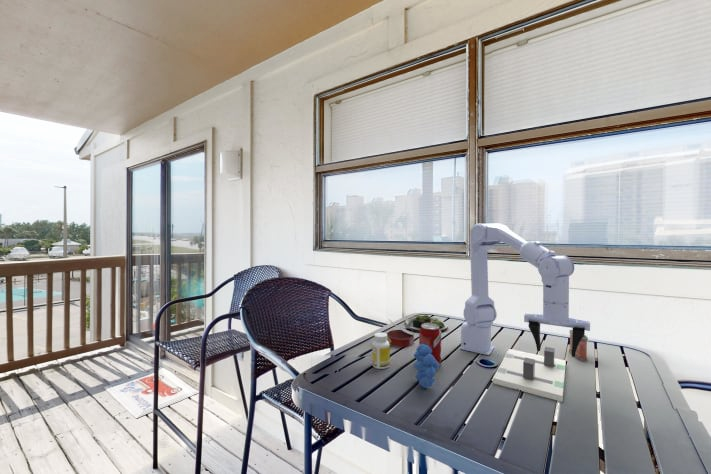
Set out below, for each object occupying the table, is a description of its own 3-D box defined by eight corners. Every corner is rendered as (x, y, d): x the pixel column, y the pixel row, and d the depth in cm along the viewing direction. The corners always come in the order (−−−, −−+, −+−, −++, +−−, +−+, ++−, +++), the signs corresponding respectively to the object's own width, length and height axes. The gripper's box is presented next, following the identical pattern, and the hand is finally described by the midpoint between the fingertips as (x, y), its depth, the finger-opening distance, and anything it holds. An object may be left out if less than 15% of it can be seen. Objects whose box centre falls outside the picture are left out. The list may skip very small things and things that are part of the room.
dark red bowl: (391, 349, 122) (392, 323, 127) (417, 351, 118) (417, 323, 122) (381, 345, 113) (382, 317, 118) (408, 346, 109) (409, 317, 113)
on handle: (544, 365, 94) (544, 350, 94) (545, 360, 97) (545, 346, 97) (553, 367, 93) (553, 352, 93) (554, 362, 96) (554, 348, 95)
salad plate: (399, 319, 146) (399, 309, 146) (437, 318, 146) (438, 309, 146) (407, 334, 127) (407, 323, 126) (451, 333, 127) (451, 322, 127)
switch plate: (493, 383, 87) (493, 377, 87) (508, 353, 107) (508, 348, 107) (562, 401, 78) (562, 395, 78) (565, 365, 98) (565, 360, 97)
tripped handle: (523, 377, 87) (523, 362, 86) (524, 372, 90) (525, 357, 89) (533, 380, 85) (533, 364, 85) (534, 374, 88) (534, 359, 88)
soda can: (428, 370, 95) (428, 330, 95) (414, 361, 101) (414, 324, 101) (445, 365, 98) (446, 327, 98) (431, 357, 104) (431, 321, 104)
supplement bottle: (392, 363, 100) (391, 332, 99) (386, 370, 95) (386, 338, 94) (375, 360, 102) (375, 330, 102) (369, 367, 97) (369, 336, 97)
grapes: (448, 397, 80) (449, 351, 80) (423, 400, 79) (423, 353, 79) (431, 375, 92) (431, 335, 91) (409, 377, 91) (409, 336, 90)
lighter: (590, 362, 100) (590, 330, 99) (578, 361, 100) (578, 330, 100) (577, 351, 108) (578, 322, 107) (566, 351, 108) (567, 322, 108)
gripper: (522, 301, 84) (522, 351, 84) (590, 308, 76) (590, 364, 76) (525, 296, 90) (525, 343, 90) (589, 302, 82) (589, 354, 82)
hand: (555, 352), depth 84 cm, fingers open, 7 cm apart
